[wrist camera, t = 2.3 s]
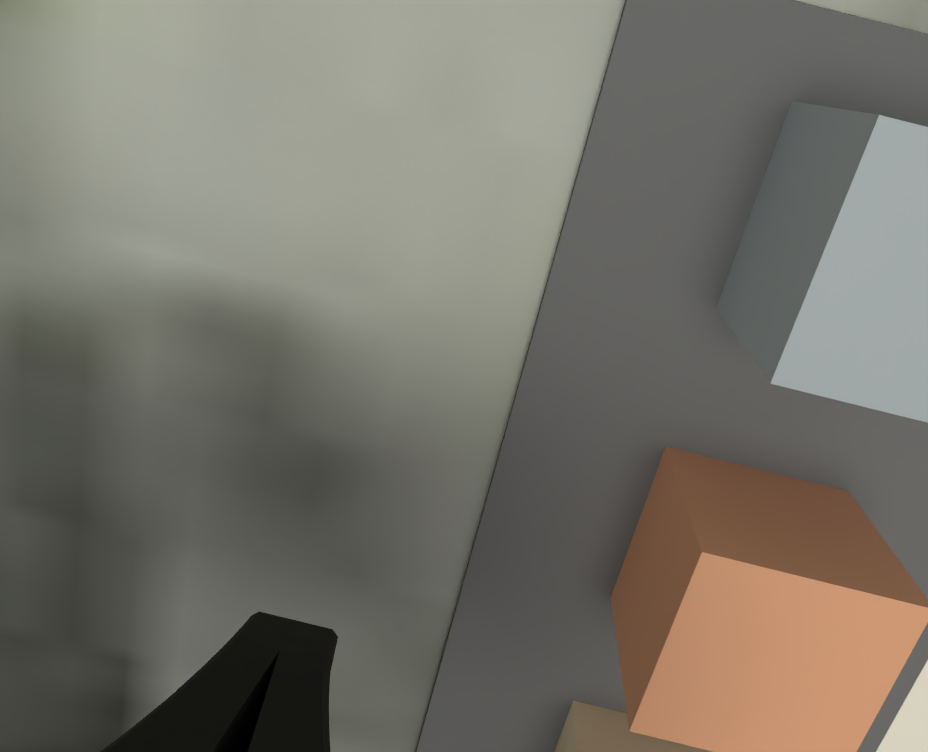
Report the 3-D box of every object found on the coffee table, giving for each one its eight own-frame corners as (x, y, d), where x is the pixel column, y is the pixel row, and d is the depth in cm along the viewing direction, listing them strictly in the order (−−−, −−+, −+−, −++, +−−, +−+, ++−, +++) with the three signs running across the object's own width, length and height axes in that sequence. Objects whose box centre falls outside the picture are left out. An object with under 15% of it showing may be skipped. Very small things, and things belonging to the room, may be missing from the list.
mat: (1092, 987, 25) (1099, 998, 25) (397, 819, 25) (395, 828, 25) (1705, 232, 16) (1727, 236, 16) (636, -38, 16) (637, -39, 16)
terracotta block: (779, 639, 21) (839, 782, 17) (610, 598, 21) (629, 731, 17) (848, 491, 19) (935, 609, 15) (665, 446, 19) (702, 551, 15)
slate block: (911, 358, 18) (1024, 446, 14) (715, 308, 18) (770, 383, 14) (1006, 155, 17) (1167, 187, 12) (791, 100, 16) (879, 114, 12)
